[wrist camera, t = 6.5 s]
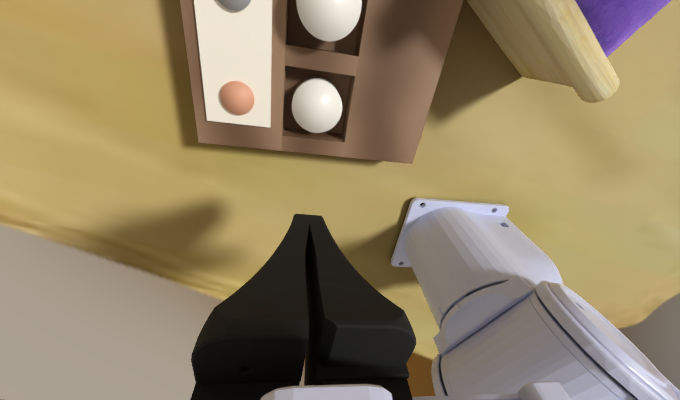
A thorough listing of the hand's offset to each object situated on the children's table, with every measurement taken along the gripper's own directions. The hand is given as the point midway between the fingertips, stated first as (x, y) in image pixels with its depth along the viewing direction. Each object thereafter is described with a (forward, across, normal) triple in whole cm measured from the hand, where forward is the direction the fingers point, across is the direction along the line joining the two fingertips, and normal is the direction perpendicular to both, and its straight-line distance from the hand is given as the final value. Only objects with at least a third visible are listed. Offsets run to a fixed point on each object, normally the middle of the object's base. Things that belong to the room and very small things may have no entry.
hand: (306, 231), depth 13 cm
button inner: (+8, 0, -5) cm, 9 cm away
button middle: (+6, 0, -10) cm, 12 cm away
